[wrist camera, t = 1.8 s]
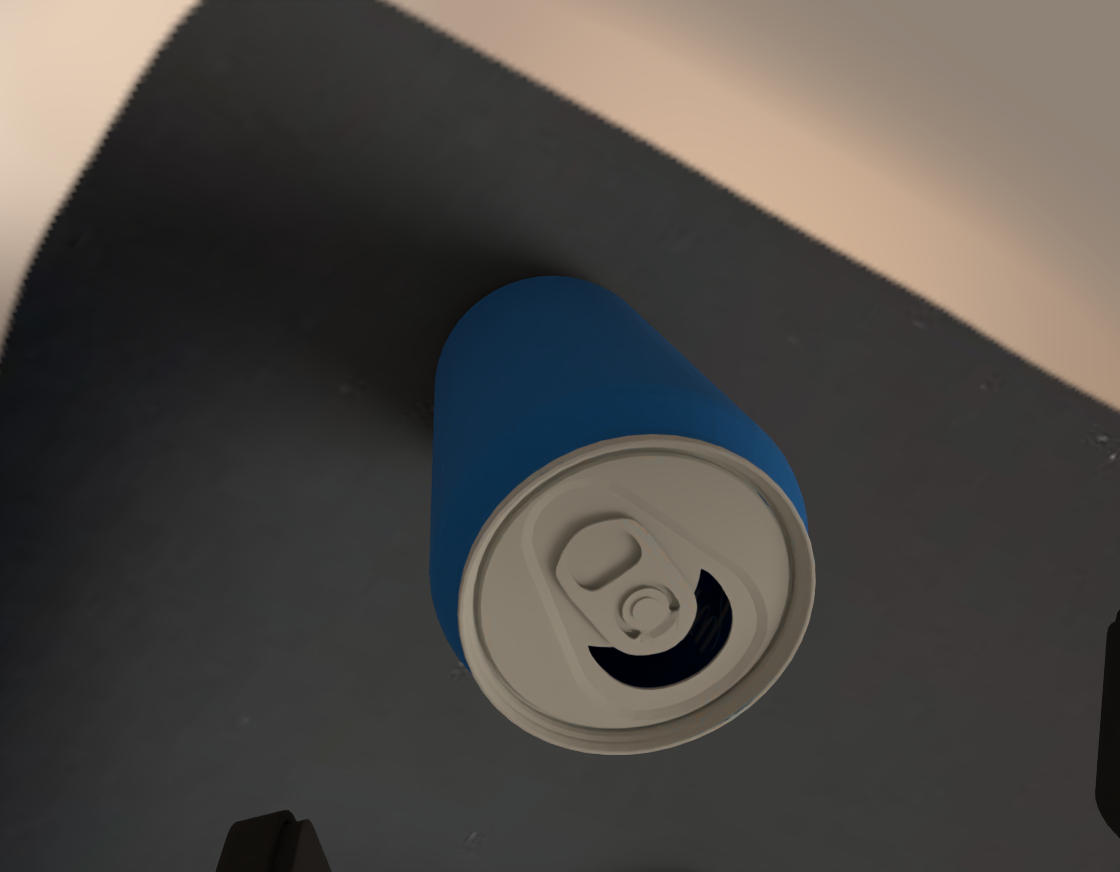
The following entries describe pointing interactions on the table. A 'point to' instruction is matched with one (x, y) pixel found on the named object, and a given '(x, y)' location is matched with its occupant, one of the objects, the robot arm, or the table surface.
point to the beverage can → (607, 526)
